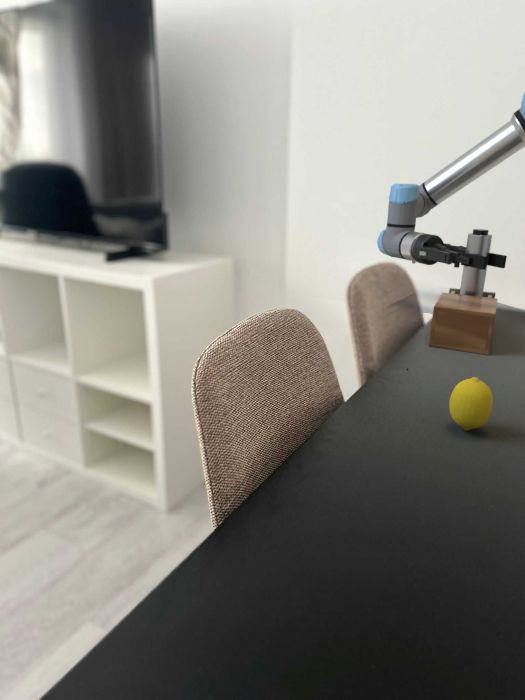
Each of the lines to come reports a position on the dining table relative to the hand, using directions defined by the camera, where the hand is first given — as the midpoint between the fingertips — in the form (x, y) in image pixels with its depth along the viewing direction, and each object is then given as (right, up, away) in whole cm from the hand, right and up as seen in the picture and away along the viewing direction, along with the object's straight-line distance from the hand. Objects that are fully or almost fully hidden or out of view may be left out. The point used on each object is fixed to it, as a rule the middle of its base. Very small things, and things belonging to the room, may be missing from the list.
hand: (494, 262), depth 112 cm
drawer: (-2, -13, +10) cm, 16 cm away
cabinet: (-8, -17, -1) cm, 19 cm away
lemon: (-22, -31, -40) cm, 55 cm away
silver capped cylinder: (-2, -10, +9) cm, 14 cm away
